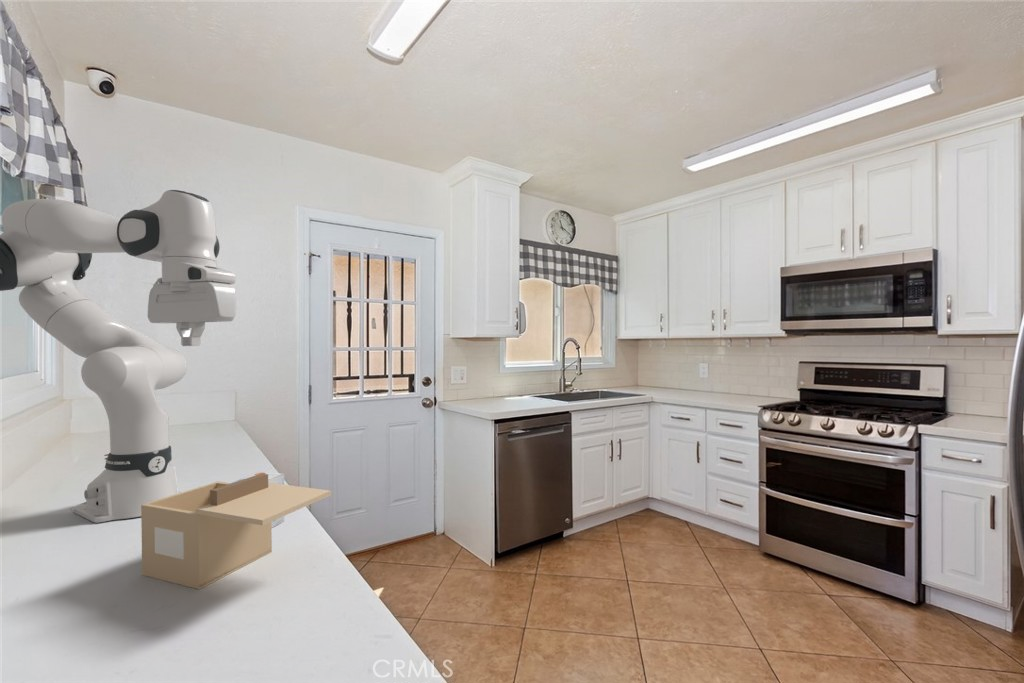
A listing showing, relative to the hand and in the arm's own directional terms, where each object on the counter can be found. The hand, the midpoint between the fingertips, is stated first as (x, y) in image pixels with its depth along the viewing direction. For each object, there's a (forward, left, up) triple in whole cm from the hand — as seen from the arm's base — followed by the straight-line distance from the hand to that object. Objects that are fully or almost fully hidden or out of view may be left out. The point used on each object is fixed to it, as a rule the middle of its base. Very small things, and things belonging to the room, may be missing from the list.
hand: (190, 346), depth 91 cm
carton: (+10, -4, -39) cm, 41 cm away
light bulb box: (+5, +10, -39) cm, 41 cm away
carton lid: (+24, -4, -27) cm, 36 cm away
